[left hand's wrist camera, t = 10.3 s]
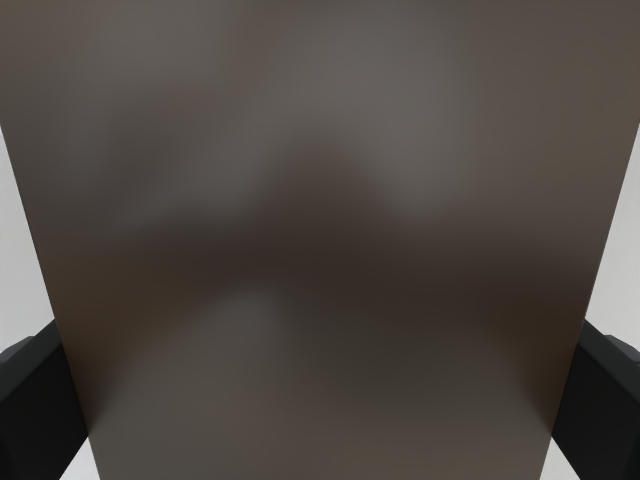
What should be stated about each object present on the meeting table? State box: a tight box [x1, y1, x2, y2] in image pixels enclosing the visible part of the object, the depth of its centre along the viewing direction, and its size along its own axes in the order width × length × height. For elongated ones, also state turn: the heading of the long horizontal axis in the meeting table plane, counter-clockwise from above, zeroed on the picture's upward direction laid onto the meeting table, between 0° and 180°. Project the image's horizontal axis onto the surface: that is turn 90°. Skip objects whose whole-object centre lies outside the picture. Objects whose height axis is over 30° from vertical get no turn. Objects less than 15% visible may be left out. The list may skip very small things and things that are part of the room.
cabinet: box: [0, 0, 640, 480], centre depth 12 cm, size 16×11×9 cm
